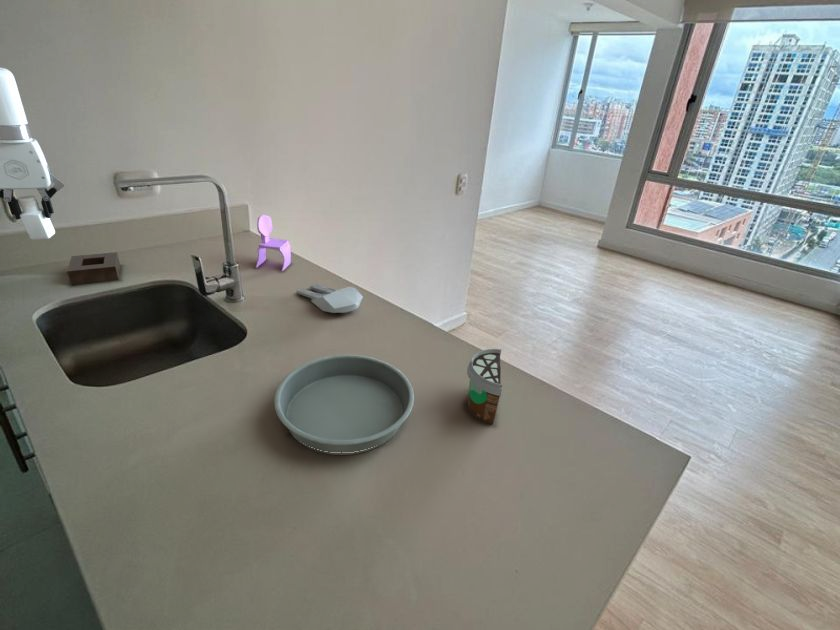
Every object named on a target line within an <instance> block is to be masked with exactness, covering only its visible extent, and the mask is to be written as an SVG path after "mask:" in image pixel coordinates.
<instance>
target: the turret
mask: <svg viewBox="0 0 840 630" xmlns="http://www.w3.org/2000/svg"><path fill="white" fill-rule="evenodd" d="M309 289H311V290H309ZM309 289H305V288H300V289H298V290H296V293H297V294H298V295H300V296H303V297H306V298H309V299H311V303H313V304H314V305H315V306H316V307H318V309H320V310H321V311H322V312H326V313H332V314H336V313H339V314H346V313H349V312H353V311H356V310H357V309H358V308H359V307H360V304H361V302H362V300H363V295H362V294H361V293H360V292H359V290H358V289H357V288H356V287H354V286H346V287H342V288H340V289H335V288H330V287H328V286H322V285H320V284H316V283H315V284H313V285H310V286H309Z"/></svg>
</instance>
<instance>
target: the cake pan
mask: <svg viewBox="0 0 840 630" xmlns="http://www.w3.org/2000/svg"><path fill="white" fill-rule="evenodd" d="M273 400H274V402H273V403H274V409H275V413H276V415H277V417H278V419H279V420H280V422H281V423H282V424H283V425H284V426H285V427H286V428H287V429H288V431H289V432H290V434H291V436H293V435H294V436H295V437H296V438H295V437H294V436H293V438H294V439H295V440H296V441H297V442H298V443H300V444H301V445H303V446H304V447H306V448H308V449H310V450H313V451H315V452H318V453H321V454H327V455H331V456H351V455H357V454H363V453H366V452H369V451H372V450H374V449H377V448H379V447H380V446H382V445H383V444H385V443H387V442H388V441H389V440H391V439H392V438H393V437H394V435H395V434H397V432H398V431H399V429H400V427H401V425H402V424H403V423H404V422H405V421H406V420H407V418H409V415H410V414H411V413H412V410H413V407H414V402H415V393H414V389H413V386H412V384H411V382H410V380H409V379H408V377H407V376H406V375H405V374H404V373H403V372H402V371H400V369H398V368H396V367H395V366H394V365H392V364H390V363H388V362H386V361H384V360H381V359H379V358H375V357H371V356H366V355H360V354H359V355H358V354H335V355H328V356H323V357H320V358H315V359H313V360H310V361H307V362H305V363H303V364H301V365H300V366H298V367H296V368H294V369H293V370H292V371H291V372H289V373H288V374H287V375H286V376H285V377H284V378H283V379H282V380H281V382H280V383H279V385H278V387H277V389H276V391H275V393H274V399H273ZM300 441H301V442H300ZM384 441H385V442H384ZM303 443H304V444H303ZM305 444H306V445H305ZM376 445H377V446H376ZM309 446H310V447H309ZM374 446H375V447H374ZM311 447H313V448H311ZM371 447H373V448H371ZM314 448H315V449H314ZM368 448H370V449H368ZM317 449H319V450H317ZM364 449H367V450H364ZM320 450H322V451H320ZM360 450H364V451H360ZM324 451H328V452H324ZM354 451H359V452H354ZM330 452H341V453H330ZM342 452H354V453H342Z"/></svg>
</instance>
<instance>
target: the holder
mask: <svg viewBox="0 0 840 630" xmlns="http://www.w3.org/2000/svg"><path fill="white" fill-rule="evenodd" d="M66 273H67V277H68V279H69V283H70V285H71V286H79V285H81V286H82V285H88V284H97V283H106V282H115V281H119V280H120V273H121V263H120V258H119V254H118V252H117V251H116V252H115V251H114V252H105V253H104V252H103V253H92V254H82V255H71V257H70V260H69V264H68V267H67V269H66Z"/></svg>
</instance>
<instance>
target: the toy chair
mask: <svg viewBox="0 0 840 630" xmlns="http://www.w3.org/2000/svg"><path fill="white" fill-rule="evenodd" d="M256 227H257V232H258V233H259V235H260V237H261V243H259V244H258V248H257V261H256V264H255V268H258V267H260V265H262V264H263V263H264V262H265V261H266V260H267V258H266V252H267V249H268V250H274V251H278V252H279V253H280V254H281V256H282V258H283V262H282V267H281V270H280V271H281V272H283V271H284V270H286V269H287V267H288V266H290V265H291V263H292V262H291V259H292V257H291V256H292V255H291V253H292V252H291V244H290V242H289V239H280V238H274V237H270V234H271V232H272V231H273V229H274V228H273V222H272V217H271V216H269V215H266V214H262V215H259V216H258V218H257V223H256Z"/></svg>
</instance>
